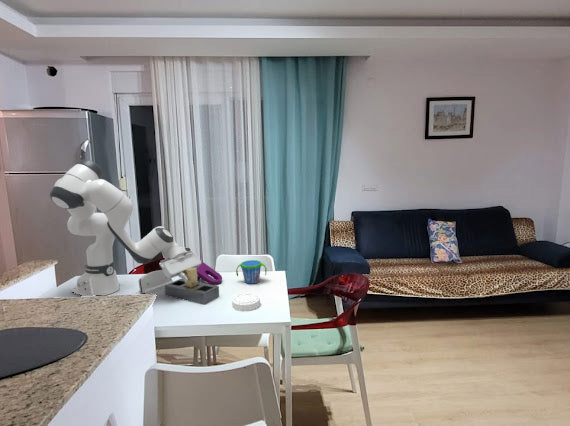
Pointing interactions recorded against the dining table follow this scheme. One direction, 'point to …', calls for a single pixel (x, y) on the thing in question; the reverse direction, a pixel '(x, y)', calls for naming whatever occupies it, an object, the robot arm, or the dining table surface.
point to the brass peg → (191, 277)
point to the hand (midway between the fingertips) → (191, 278)
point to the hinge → (153, 282)
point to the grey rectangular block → (192, 291)
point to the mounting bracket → (204, 273)
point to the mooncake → (246, 302)
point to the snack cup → (251, 271)
